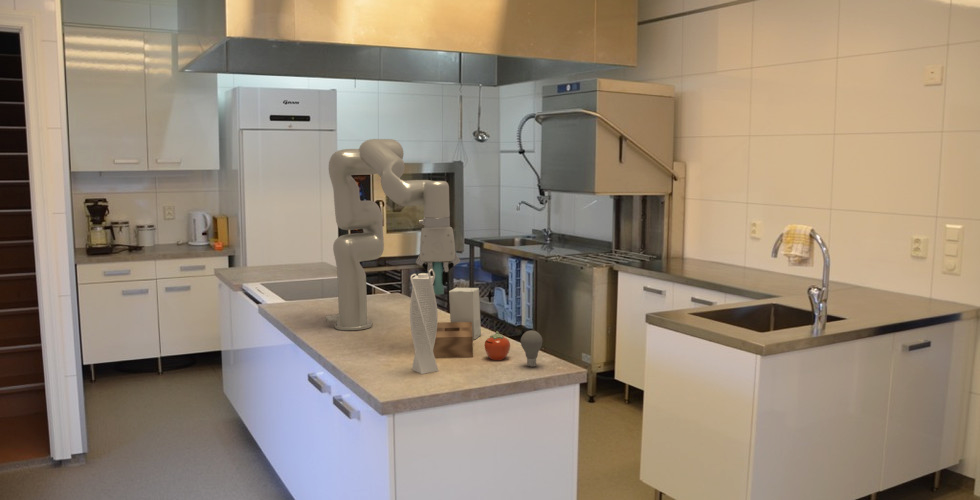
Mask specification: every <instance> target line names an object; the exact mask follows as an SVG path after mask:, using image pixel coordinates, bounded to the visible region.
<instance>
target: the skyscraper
mask: <svg viewBox="0 0 980 500" xmlns="http://www.w3.org/2000/svg"><path fill="white" fill-rule="evenodd" d="M430 271H432V272H433V276H431V275H430ZM409 279H410V282H411V286H412V289H411V294H410V303H409V304H410V305H409V320H410V321H409V322H410V323H409V324H410V331H411V338H412V344H413V348H414V356H413V359H412V360H413V362H412V366H411V370H412V371H414V372H416V373H418V374H421V375H424V374H429V373H430V374H431V373H434V372H439V367H438V364H437V361H436V358H435V357H434V353H433V348H434V344H435V338H436V332H437V322H438V317H439V316H438V304H437V298H436V294H435V293H434V288H433V283H434V279H435V272H434V270H433V268H432V269H430V270H429V272H428V271H427V273H425V272H421V273H412V274H411V275H410V278H409Z"/></svg>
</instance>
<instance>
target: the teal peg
mask: <svg viewBox="0 0 980 500" xmlns="http://www.w3.org/2000/svg"><path fill="white" fill-rule="evenodd" d="M432 269H433V270H434V272H435V279H434V285H433V289H434V293H435V295H444V294H445V292H444V291H445V289H444V287H445V286H444V285H443V271H444V262H432Z"/></svg>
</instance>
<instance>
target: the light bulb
mask: <svg viewBox="0 0 980 500" xmlns="http://www.w3.org/2000/svg"><path fill="white" fill-rule="evenodd" d="M520 345H521V348H522V349H523V351H524V352H525V357H526V365H527V367H530V368H532V367H535V366H537V358H538V355H539V352H540V350H541V348H542V346H543V337H542V335H541V333H539V332H538V331H536V330H533V329H532V330H527V331H525V332H524V333H523V334H522V336H521V337H520Z"/></svg>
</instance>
